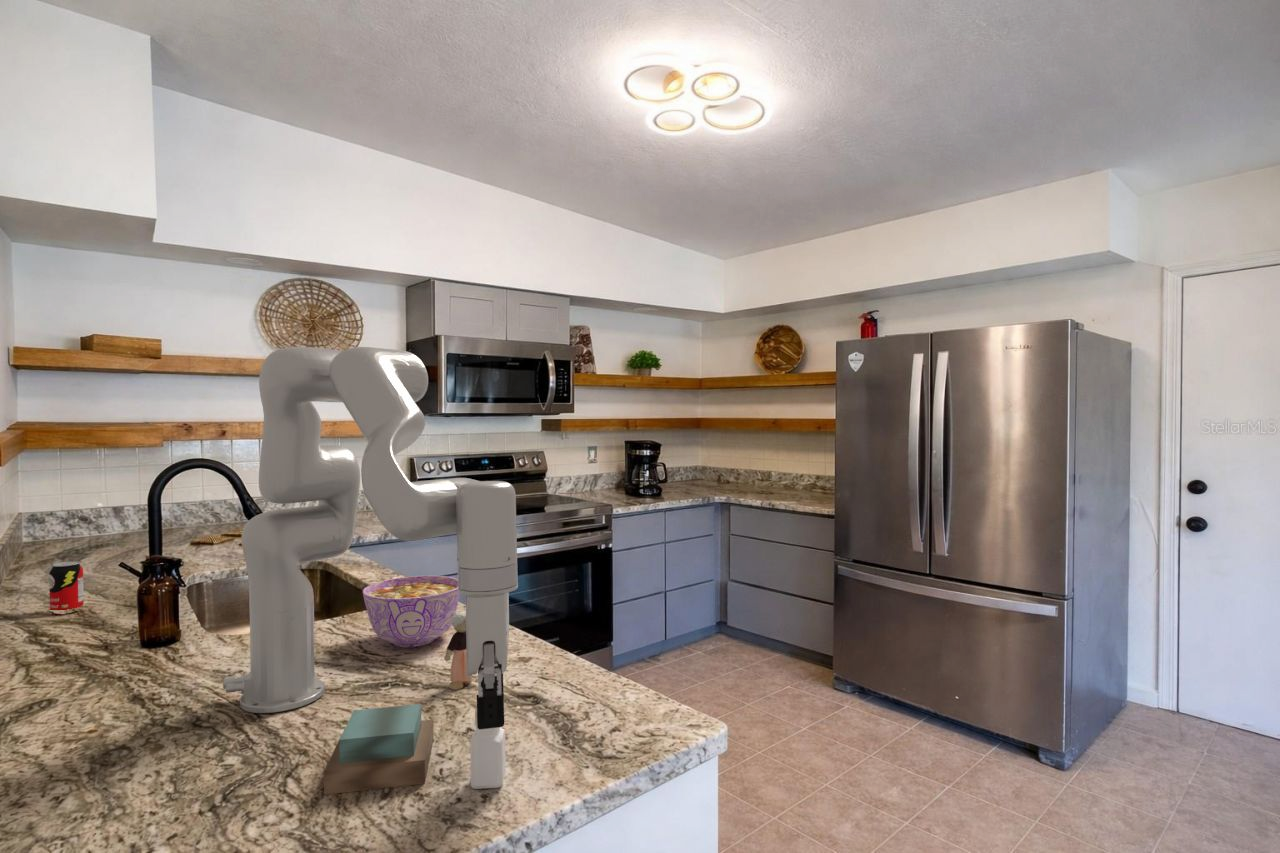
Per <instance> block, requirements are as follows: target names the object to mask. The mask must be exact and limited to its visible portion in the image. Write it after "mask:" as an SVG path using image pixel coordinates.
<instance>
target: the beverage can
mask: <svg viewBox="0 0 1280 853" xmlns="http://www.w3.org/2000/svg"><path fill="white" fill-rule="evenodd" d="M48 576H49V580H48V581H49V586H48V588H49V611H50V610H67V609H72V608H77V607H80V606H82V605H83V604H84V568H83V566H82V565H81V563H80V561H78V560H77V561H74V560H72V561H63V562H56V563H54V564H52V567H51V569H50V571H49V574H48Z"/></svg>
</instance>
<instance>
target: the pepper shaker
mask: <svg viewBox="0 0 1280 853" xmlns="http://www.w3.org/2000/svg"><path fill="white" fill-rule="evenodd" d="M474 722H475V723H474V725H475V730H474V731H473V732H472V735H471V738H470V742H469V743H470V748H469V749H470V755H469V756H470V786H471V788H472V789H473V790H474V789H475V790H478V789H479V790H480V789H482V790H483V789H497V788H501V787H502V785H503V783H504V779H505V774H506V730H505V729H504V728H503V727H498V728H489V729H478V727H477V707H475V709H474Z"/></svg>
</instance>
